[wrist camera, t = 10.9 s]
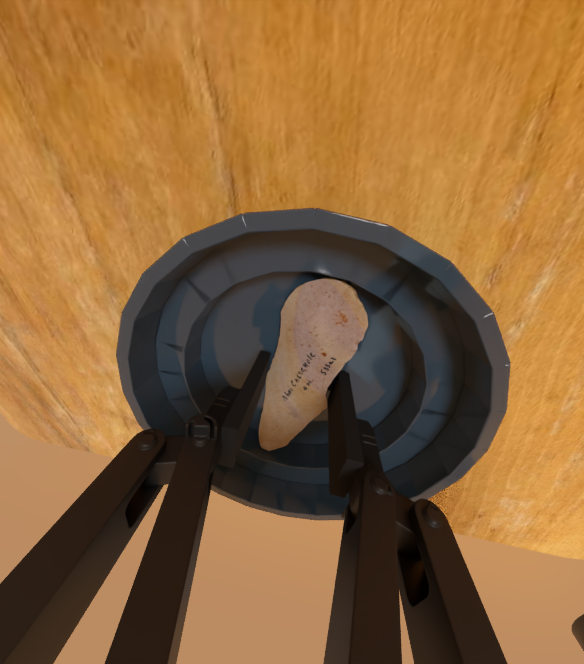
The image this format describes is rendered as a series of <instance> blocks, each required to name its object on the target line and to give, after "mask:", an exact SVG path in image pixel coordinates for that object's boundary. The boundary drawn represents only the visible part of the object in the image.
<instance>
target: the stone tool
mask: <svg viewBox="0 0 584 664" xmlns="http://www.w3.org/2000/svg"><path fill="white" fill-rule="evenodd" d="M367 327H368V319H367V313H366V311H365V309H364V306H363V304H362V303H361V301H360V300H359V298H358V296H357V293H356V291H355V289H354V288H353V287H351V286H350V285H348V284H347V282H346V281H345V280H338V279H334V278H331V277H329V278H327V277H325V278H321V279H318V280H314V281H310V282H306V283H305V284H303V285H300V286H299V287H297V288H296V289H295V290H294V291H293V292H292V293H291V294H290V296H289V297H288V299H287V300H286V302H285V304H284V306H283V308H282V310H281V328H280V336H279V340H278V347H277V349H276V353H275V357H274V358H273V360H272V364H271V368H270V370H269V371H268V373H267V377H266V393H265V399H264V403H263V406H264V407H263V411H262V413H261V419H260V426H259V442H260V446H261V447H262V448H263V449H266V450H267V451H271V450H275V449H278V448H281V447H283V446H286V445H287V444H288V443H289V441H290V440H291V439H293V438H294V437H295V436H296V435H297V434H298V433H299V432H301V431H302V430H303V429H304V428H305V427H306V425H307V424H308V423H309V422H311V421H312V420H313V419H314V418H315V417H316V416H318V415H319V414H320V413H321V412H322V411H323V410H325V409H326V408H327V399H326V396H325V395H326V392H327V388H328V386H329V385H330V384H331V382H332V380H333V379H334V378H335V376H336V375H337V374H338V373H339V372H340V370H341V369H342V368H343V366H344V365H345V363H346V362H348V361H349V360H350V359H351V358H352V356H353V355H354V354H355V352H356V350H357V348H358V344H359V342H360V341H362V340H363V338H364V334H365V332H366V329H367Z"/></svg>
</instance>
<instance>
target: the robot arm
mask: <svg viewBox="0 0 584 664" xmlns="http://www.w3.org/2000/svg"><path fill="white" fill-rule="evenodd" d="M270 356H271V353H269V352H265V351H260V353H259V355H258V357H257V359H256V361H255V362H254V364H253V366H252V368H251V370H250V372H249V374H248V376H247V378H246V380H245V382H244V384H243V386H242V387H241V389H238V388H234V387H230V386H227V387H225V388H224V389H222V390H221V391H220V392H219V394H218V395H217V397H216V399H215V400H214V402H213V404H212V405H211V406H210V408H209V410H208V411H207V413H206V414H199V415H196V416H194V417H192V418H191V419H189V420H188V422H187V423H186V425H185V434H184V435H174V436H166V435H165V434H164V432H163V431H162V430H160V429H154V428H151V429H147V430H144V431H142V432H140V433H138V434H137V435H136V436H134V437H133V438H132V439H131V440H130V441H129V443H128V444H127V445H126V446H125V447H124V448H123V449H122V450H121V451H120V452H119V454H118V455H117V456H116V457H115V458H114V459H113V460H112V461H111V462H110V464H109V465H108V466H107V467H106V468H105V469H104V470H103V471H102V472H101V473H100V475H99V476H98V477H97V478H96V479H95V480H94V481H93V482H92V484H90V486H89V487H88V488H87V489H86V490H85V491H84V492H83V493H82V494H81V495H80V497H79V498H78V499H77V500H76V501H75V502H74V503H73V504H72V505H71V506H70V508H69V509H68V510H67V511H66V512H65V513H64V514H63V515H62V516H61V518H60V519H59V520H58V521H57V522H56V523H55V524H54V525H53V526H52V527H51V529H50V530H49V531H48V532H47V533H46V534H45V535H44V536H43V537H42V538H41V540H40V541H39V542H38V543H37V544H36V545H35V546H34V547H33V548H32V549H31V551H30V552H29V553H28V554H27V555H26V556H25V557H24V558H23V559H22V560H21V562H20V563H19V564H18V565H17V566H16V567H15V568H14V569H13V570H12V572H11V573H10V574H9V575H8V576H7V577H6V578H5V579H4V580H3V582H2V583H1V584H0V664H53V663H54V661H55V660H56V658H57V656H58V655H59V653H60V652H61V650H62V648H63V647H64V645H65V643H66V642H67V640H68V639H69V637H70V635H71V634H72V632H73V631H74V629H75V627H76V626H77V624H78V623H79V621H80V619H81V618H82V616H83V615H84V613H85V611H86V610H87V608H88V607H89V605H90V603H91V602H92V600H93V599H94V597H95V595H96V594H97V592H98V590H99V589H100V587H101V586H102V584H103V582H104V581H105V579H106V578H107V576H108V574H109V573H110V571H111V569H112V568H113V566H114V564H115V563H116V561H117V560H118V558H119V556H120V555H121V553H122V552H123V550H124V548H125V547H126V545H127V544H128V542H129V540H130V539H131V537H132V536H133V534H134V532H135V531H136V529H137V528H138V526H139V524H140V522H141V521H142V519H143V518H144V516H145V515H146V513H147V511H148V510H149V508H150V507H151V505H152V503H153V502H154V500H155V499H156V497H157V495H158V494H159V492H160V490H161V489H162V487H163V485H166V484H169V485H168V488H167V491H166V494H165V496H164V500H163V503H162V505H161V508H160V510H159V513H158V516H157V519H156V522H155V525H154V527H153V530H152V533H151V536H150V538H149V541H148V544H147V547H146V550H145V553H144V555H143V558H142V561H141V564H140V567H139V569H138V572H137V575H136V578H135V580H134V583H133V586H132V589H131V592H130V595H129V597H128V600H127V603H126V606H125V608H124V611H123V614H122V617H121V620H120V622H119V625H118V628H117V631H116V633H115V637H114V640H113V642H112V645H111V648H110V650H109V653H108V656H107V659H106V661H105V664H176V661H177V656H178V652H179V647H180V641H181V636H182V631H183V626H184V621H185V616H186V611H187V606H188V601H189V596H190V591H191V586H192V581H193V576H194V571H195V566H196V561H197V555H198V551H199V546H200V540H201V536H202V531H203V526H204V521H205V516H206V511H207V506H208V500H209V495H210V490H211V486H212V481H213V475H214V468H215V466H216V463H217V461H218V464H219V465H223V466H227V467H231V468H233V467H234V464H235V462H236V459H237V457H238V454H239V451H240V449H241V446H242V443H243V441H244V438H245V435H246V433H247V430H248V428H249V425H250V422H251V420H252V417H253V414H254V412H255V409H256V407H257V404H258V401H259V399H260V396H261V393H262V391H263V388H264V385H265V383H266V377H267V372H268V367H269V362H270ZM328 447H329V494H332V495H335V496H339V497H343V498H345V497H346V495H347V493H349V503H348V505H347V506H346V508H345V510H344V511H343V513H342V516H341V518H344V517H345V519H344V526H343V533H342V540H341V547H340V554H339V561H338V568H337V575H336V581H335V589H334V595H333V603H332V610H331V616H330V623H329V630H328V637H327V643H326V650H325V658H324V664H402V654H401V630H400V605H399V591H400V596H401V600H402V605H403V610H404V615H405V620H406V625H407V630H408V634H409V640H410V644H411V649H412V654H413V659H414V664H507V662H506V659H505V657H504V654H503V652H502V650H501V647H500V645H499V642H498V640H497V638H496V635H495V633H494V630H493V628H492V626H491V623H490V621H489V618H488V616H487V614H486V611H485V609H484V606H483V604H482V602H481V599H480V597H479V595H478V592H477V590H476V587H475V585H474V582H473V580H472V578H471V576H470V573H469V571H468V568H467V566H466V563H465V561H464V559H463V556H462V554H461V551H460V549H459V547H458V544H457V542H456V539H455V537H454V535H453V532H452V530H451V527H450V525H449V523H448V520H447V519H446V517H445V515H444V513H443V512H442V511H441V510H440V509H439V508H438V507H437V506H436V505H435V504H434V503H432V502H431V501H429V500H427V499H418V500H417V501H416V502H414V501H412V500H411V499H409V498H407V497H406V496H404V495H402V494H401V493H399V492H398V491H396V490H395V489H394V487H393V485H392V484H391V482H390V480H389V479H388V478H387V477H386V476H385V474H384V471H383V467H382V463H381V458H380V454H379V450H378V447H377V442H376V439H375V434H374V430H373V428H372V426H371V425H370V423H369V422H368V421H365V420H362V419H358V418H357V417H356V411H355V405H354V399H353V393H352V387H351V381H350V375H349V372H345V371H341V370H340V372H339V373H338V374H337V375H336V378H335V381H334V383H333V386H332V389H331V391H330V394H329V397H328ZM218 459H219V460H218Z"/></svg>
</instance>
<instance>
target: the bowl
mask: <svg viewBox="0 0 584 664" xmlns="http://www.w3.org/2000/svg"><path fill="white" fill-rule="evenodd" d="M325 277H327V278H329V277H331V278H334V279H338V280H345V281H346V282H347V284H348V285H350V286H351V287H353V288H354V289H355V291H356V293H357V296H358V298H359V300H360V301H361V303H362V304H363V306H364V309H365V311H366V313H367V319H368V327H367V329H366V332H365V334H364V338H363V340H362V341H360V342H359V344H358V348H357V350H356V352H355V354H354V355H353V356H352V358H351V359H350V360H349V361H348V362H346V363H345V365H344V366H343V368H342V369H341V371H345V372H349V375H350V381H351V387H352V393H353V399H354V405H355V411H356V417H357V418H358V419H362V420H365V421H368V422H369V423H370V425H371V426H372V428H373V430H374V434H375V439H376V442H377V447H378V450H379V454H380V458H381V463H382V467H383V471H384V474H385V476H386V477H387V478H388V479H389V480H390V482H391V484H392V485H393V487H394V489H395V490H396V491H398V492H399V493H401V494H402V495H404V496H406V497H407V498H409V499H411V500H412V501H414V502H416V501H417V500H418V499H427V500H428V499H429V498H431V497H432V496H434V495H436V494H437V493H439V492H441V491H442V490H444V489H445V488H447V487H449V486H450V485H452V484H453V483H455V482H457V481H458V480H459V479H461V478H462V477H463V476H464V475H465V474H466V473H467V472H468V471H469V470H470V469H471V468H472V467H473V466H474V465H475V463H476V462H477V461H478V460H479V459H480V458H481V457H482V456H483V455H484V454H485V453H486V452H487V451H488V449H489V447H490V445H491V443H492V441H493V439H494V437H495V435H496V433H497V430H498V428H499V426H500V424H501V422H502V420H503V418H504V416H505V414H506V410H507V402H508V389H509V376H510V360H509V357H508V354H507V351H506V348H505V345H504V342H503V339H502V336H501V333H500V330H499V327H498V324H497V321H496V318H495V315H494V312H492V309H491V308H490V307H489V306H488V305H487V304H486V302H485V301H484V300H483V299H482V298H481V296H480V295H479V294H478V293H477V292H476V290H475V289H474V288H473V287H472V286H471V284H470V283H469V282H468V281H467V280H466V278H465V277H464V276H463V275H462V274H461V272H460V271H459V270H458V269H457V268H456V266H455V265H454V264H453V263H452V262H451V261H449V260H448V259H446V258H444V257H443V256H441V255H439V254H438V253H436V252H434V251H433V250H431V249H429V248H428V247H426V246H424V245H423V244H421V243H419V242H417V241H416V240H414V239H412V238H411V237H409V236H407V235H406V234H404V233H402V232H401V231H399V230H397V229H396V228H394V227H392V226H389V225H388V224H383V223H379V222H375V221H370V220H366V219H362V218H358V217H353V216H349V215H345V214H340V213H336V212H332V211H328V210H323V209H319V208H316V209H315V208H304V209H290V210H276V211H262V212H247V213H244V214H239V215H236V216H234V217H231V218H229V219H226V220H224V221H222V222H219V223H217V224H214V225H212V226H209V227H207V228H204V229H202V230H199V231H197V232H194V233H192V234H189V235H187V236H185V237H184V238H182V239H181V240H179V241H178V242H177V243H176V244H175V245H174V246H173V247H172V248H170V249H169V250H168V251H167V252H166V253H165V254H164V255H163V256H161V257H160V258H159V259H158V260H157V261H156V262H155V263H153V264H152V265H151V266H150V267H149V268H148V269H147V270H146V271H144V273H143V274H142V275H141V277H140V279H139V281H138V283H137V285H136V287H135V289H134V291H133V292H132V294H131V296H130V298H129V300H128V302H127V304H126V306H125V308H124V309H123V311H122V315H121V321H120V329H119V336H118V343H117V351H116V353H117V354H116V357H117V363H118V368H119V374H120V379H121V385H122V390H123V393H124V395H125V397H126V399H127V401H128V403H129V405H130V408H131V410H132V412H133V414H134V416H135V418H136V420H137V422H138V423H139V425H140V426H141V427H142V429H143V430H147V429H151V428H154V429H160V430H162V431H163V432H164V434H165V435H166V436H174V435H184V434H185V425H186V423H187V422H188V420H189V419H191V418H192V417H194V416H196V415H199V414H206V413H207V411H208V410H209V408H210V406H211V405H212V404H213V402H214V400H215V399H216V397H217V395H218V394H219V392H220V391H221V390H222V389H224V388H225V387H227V386H230V387H234V388H238V389H241V387H242V386H243V384H244V382H245V380H246V378H247V376H248V374H249V372H250V370H251V368H252V366H253V364H254V362H255V361H256V359H257V357H258V355H259V353H260V351H265V352H269V353H271V356H270V362H269V367H268V371H269V370H270V368H271V364H272V360H273V358H274V357H275V353H276V349H277V347H278V340H279V336H280V328H281V310H282V308H283V306H284V304H285V302H286V300H287V299H288V297H289V296H290V294H291V293H292V292H293V291H294V290H295V289H296V288H297V287H299V286H300V285H303V284H305V283H306V282H310V281H314V280H318V279H321V278H325ZM267 373H268V372H267ZM335 378H336V376H335ZM335 378H334V379H333V380H332V382H331V384H330V385H329V386H328V388H327V392H326V395H325V396H326V399H327V408H326V409H325V410H323V411H322V412H321V413H320V414H319V415H318V416H316V417H315V418H314V419H313V420H312V421H311V422H309V423H308V424H307V425H306V427H305V428H304V429H303V430H302V431H301V432H299V433H298V434H297V435H296V436H295V437H294V438H293V439H291V440H290V441H289V443H288V444H287V445H286V446H283V447H281V448H278V449H275V450H271V451H267V450H266V449H263V448H262V447H261V446H260V442H259V426H260V419H261V413H262V411H263V407H264V406H263V403H264V399H265V393H266V383H265V385H264V388H263V391H262V393H261V396H260V399H259V401H258V404H257V407H256V409H255V412H254V414H253V417H252V420H251V422H250V425H249V428H248V430H247V433H246V435H245V438H244V441H243V443H242V446H241V449H240V451H239V454H238V457H237V459H236V462H235V464H234V467H233V468H231V467H227V466H223V465H219V464H218V461H217V463H216V466H215V468H214V475H213V481H212V486H211V490H213V491H214V492H217V493H218V494H220V495H223V496H225V497H227V498H230V499H232V500H234V501H236V502H239V503H241V504H243V505H246V506H249V507H252V508H255V509H259V510H263V511H266V512H271V513H274V514H277V515H281V516H287V517H295V518H303V519H310V520H344V519H345V517H344V518H341V516H342V513H343V511H344V510H345V508H346V506H347V505H348V503H349V493H347V495H346V497H345V498H343V497H339V496H335V495H332V494H329V447H328V397H329V394H330V391H331V389H332V386H333V383H334V381H335ZM218 460H219V459H218Z"/></svg>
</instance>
